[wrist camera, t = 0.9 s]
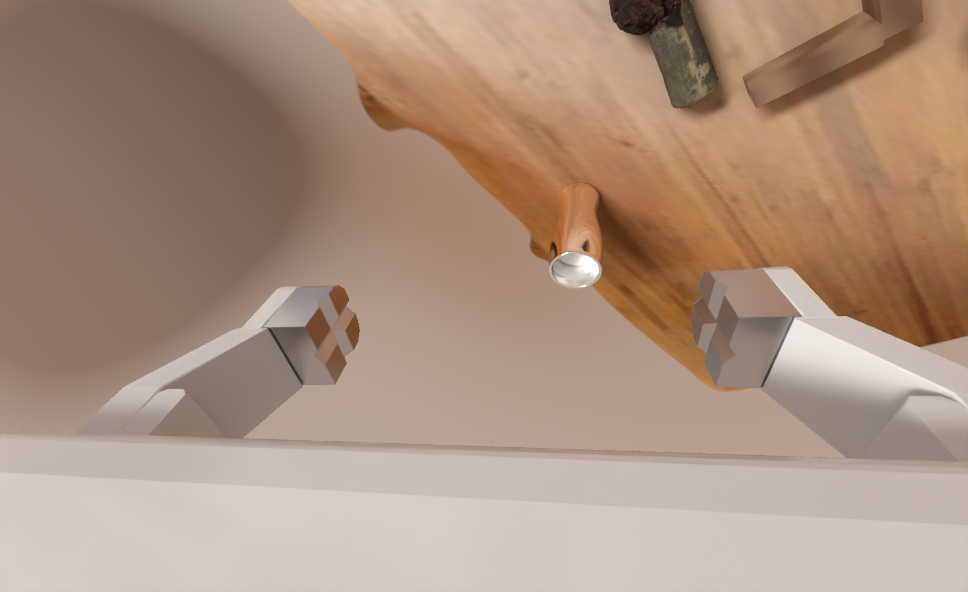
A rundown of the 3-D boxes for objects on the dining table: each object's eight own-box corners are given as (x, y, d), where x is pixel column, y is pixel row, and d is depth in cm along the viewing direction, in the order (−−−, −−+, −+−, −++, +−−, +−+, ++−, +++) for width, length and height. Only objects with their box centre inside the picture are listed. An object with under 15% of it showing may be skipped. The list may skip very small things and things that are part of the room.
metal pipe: (715, 72, 43) (724, 95, 40) (653, 105, 47) (656, 128, 44) (659, -113, 34) (665, -104, 30) (586, -53, 37) (585, -39, 34)
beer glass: (592, 172, 55) (590, 244, 45) (609, 208, 59) (611, 281, 49) (547, 190, 59) (537, 260, 49) (567, 223, 63) (561, 294, 53)
